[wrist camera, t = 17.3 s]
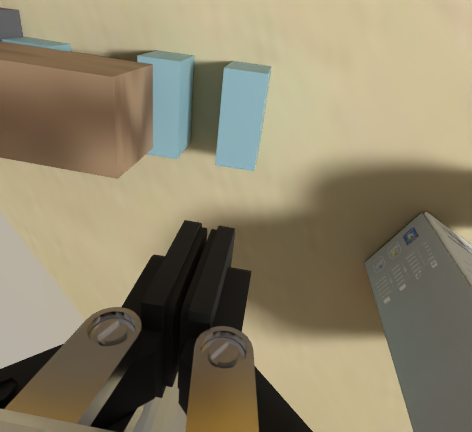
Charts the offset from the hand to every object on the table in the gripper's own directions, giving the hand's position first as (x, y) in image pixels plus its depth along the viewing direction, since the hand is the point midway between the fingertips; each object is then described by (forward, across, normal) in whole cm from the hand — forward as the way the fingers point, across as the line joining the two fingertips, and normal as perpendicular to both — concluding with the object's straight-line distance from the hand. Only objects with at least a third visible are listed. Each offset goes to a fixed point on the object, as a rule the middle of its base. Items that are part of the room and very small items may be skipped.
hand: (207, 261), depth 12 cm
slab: (+16, +13, -1) cm, 21 cm away
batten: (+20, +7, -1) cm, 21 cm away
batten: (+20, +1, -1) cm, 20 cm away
